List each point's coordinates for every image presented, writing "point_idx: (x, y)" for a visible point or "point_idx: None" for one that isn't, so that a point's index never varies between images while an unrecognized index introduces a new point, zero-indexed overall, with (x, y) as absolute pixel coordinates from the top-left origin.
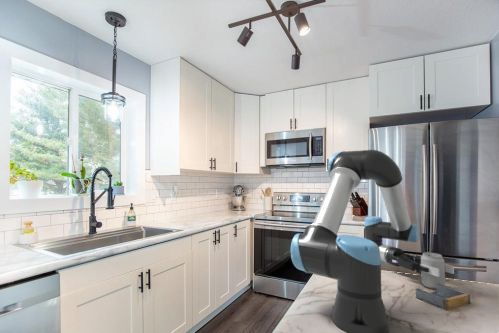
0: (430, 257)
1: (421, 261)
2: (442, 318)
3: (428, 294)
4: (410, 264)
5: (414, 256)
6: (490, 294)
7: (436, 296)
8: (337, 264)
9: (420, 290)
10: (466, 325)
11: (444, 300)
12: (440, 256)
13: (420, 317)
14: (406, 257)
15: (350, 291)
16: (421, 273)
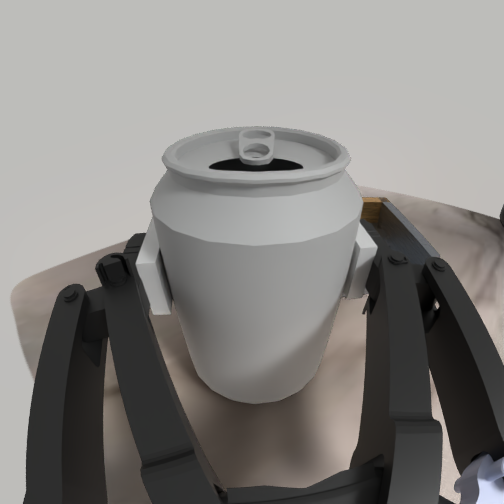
0: (320, 148)
1: (352, 244)
2: (410, 211)
3: (412, 227)
4: (452, 278)
5: (202, 480)
6: (116, 249)
7: (398, 212)
8: None
9: (428, 244)
10: (378, 193)
11: (387, 201)
12: (240, 127)
13: (451, 222)
14: (424, 442)
15: None
16: (327, 336)
